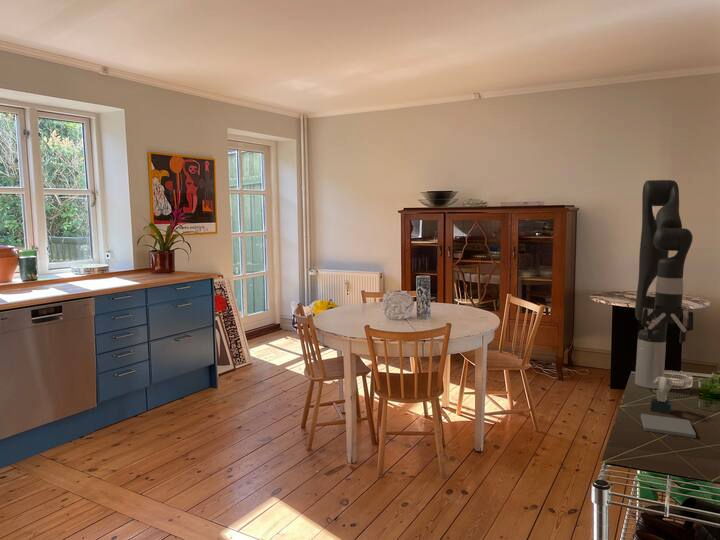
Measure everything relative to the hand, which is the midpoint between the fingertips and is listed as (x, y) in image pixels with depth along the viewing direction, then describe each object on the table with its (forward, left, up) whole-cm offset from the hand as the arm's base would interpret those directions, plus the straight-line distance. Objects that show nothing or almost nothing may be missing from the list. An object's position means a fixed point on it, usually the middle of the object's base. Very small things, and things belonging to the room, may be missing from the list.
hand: (665, 341), depth 173 cm
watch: (0, 0, -23) cm, 23 cm away
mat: (+15, 0, -23) cm, 27 cm away
